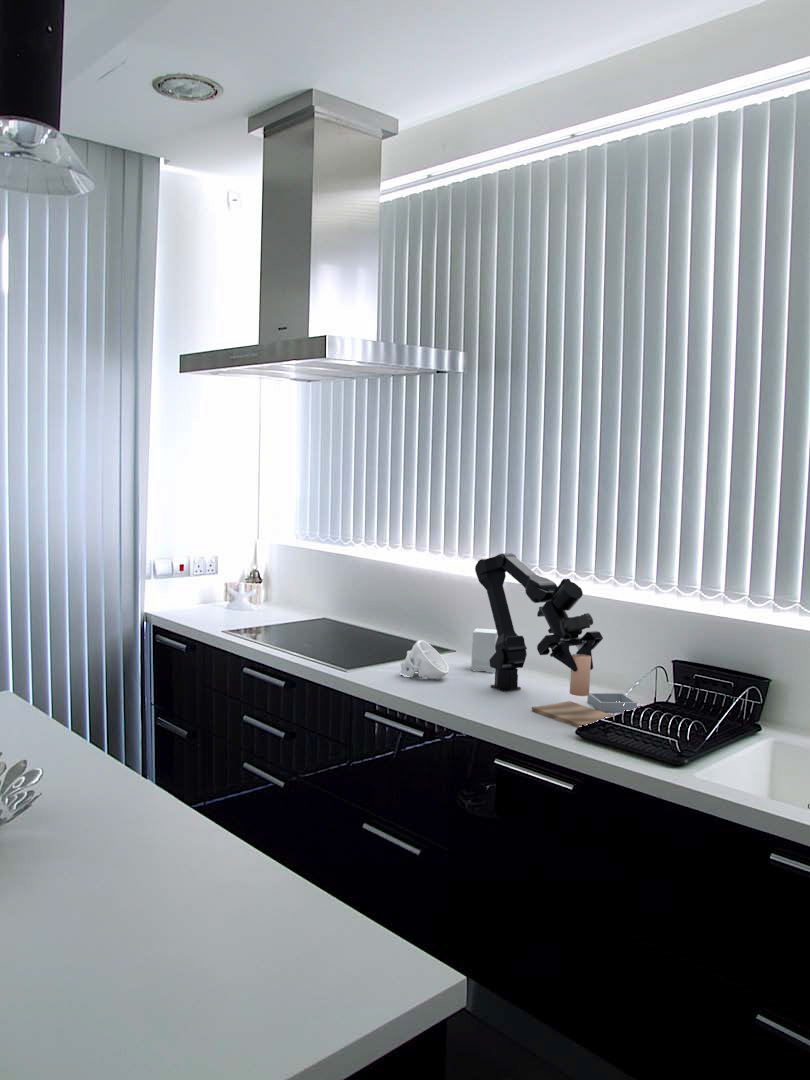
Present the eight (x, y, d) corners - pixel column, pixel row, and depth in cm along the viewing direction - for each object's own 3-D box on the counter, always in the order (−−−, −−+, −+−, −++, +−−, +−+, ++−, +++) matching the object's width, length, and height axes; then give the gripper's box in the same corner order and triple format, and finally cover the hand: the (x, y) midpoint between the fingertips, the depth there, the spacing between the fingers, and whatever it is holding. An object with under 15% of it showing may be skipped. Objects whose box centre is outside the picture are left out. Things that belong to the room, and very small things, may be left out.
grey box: (599, 711, 247) (600, 702, 246) (587, 701, 257) (587, 693, 257) (636, 711, 248) (636, 702, 248) (622, 701, 258) (622, 693, 258)
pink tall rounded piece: (567, 691, 244) (569, 653, 243) (585, 691, 244) (587, 654, 244) (572, 696, 239) (575, 658, 238) (591, 696, 240) (593, 658, 239)
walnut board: (531, 710, 245) (531, 707, 245) (569, 704, 253) (569, 701, 253) (580, 728, 230) (581, 724, 230) (619, 721, 238) (619, 717, 238)
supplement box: (494, 673, 288) (495, 633, 287) (470, 671, 289) (472, 631, 288) (496, 668, 295) (498, 629, 294) (473, 666, 297) (475, 627, 296)
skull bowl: (402, 665, 287) (423, 635, 284) (436, 694, 283) (457, 663, 280) (387, 671, 278) (409, 640, 274) (422, 701, 274) (445, 670, 270)
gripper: (546, 604, 238) (572, 655, 230) (600, 601, 248) (627, 650, 239) (525, 629, 246) (550, 679, 237) (578, 625, 255) (604, 673, 247)
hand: (584, 669), depth 240 cm, fingers closed on pink tall rounded piece, 5 cm apart
